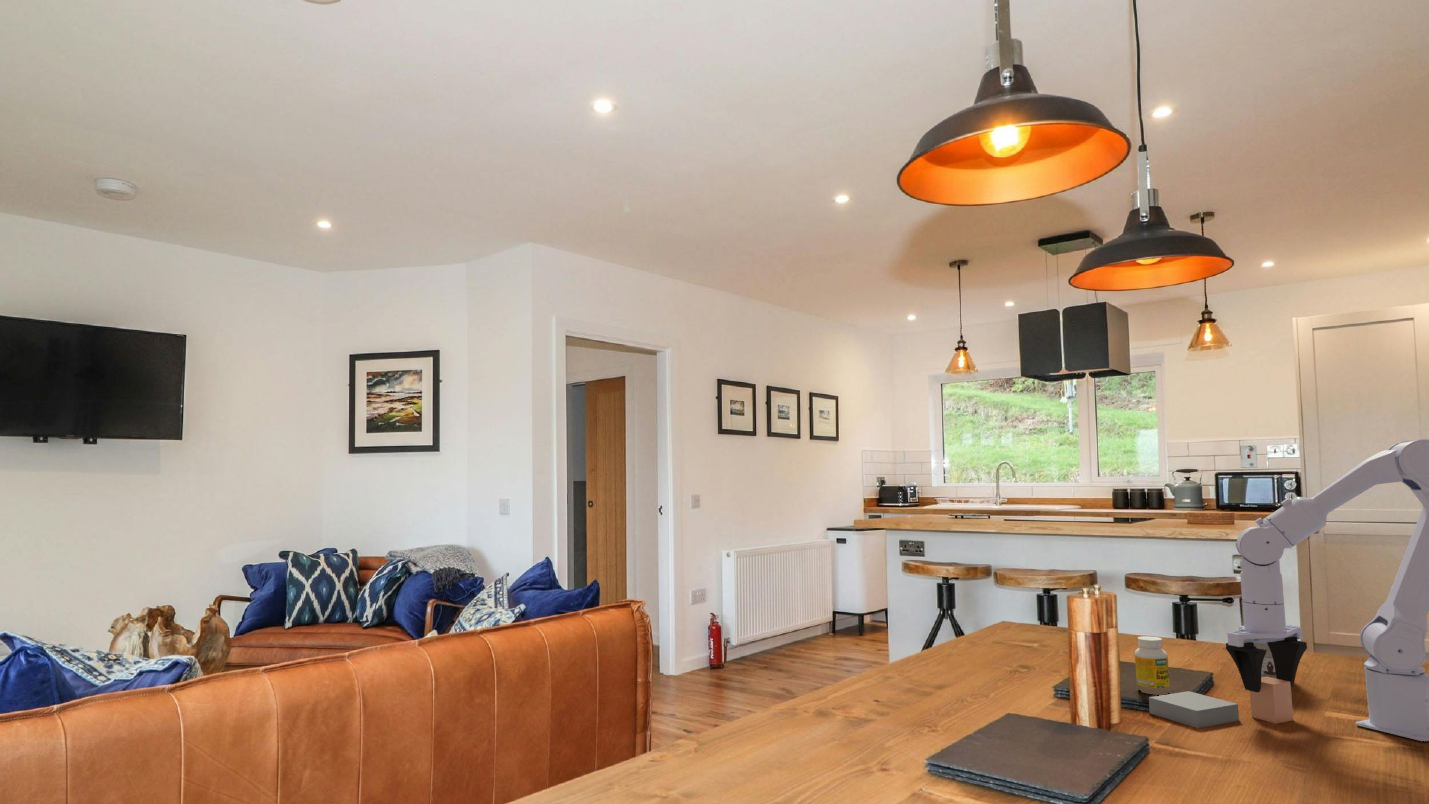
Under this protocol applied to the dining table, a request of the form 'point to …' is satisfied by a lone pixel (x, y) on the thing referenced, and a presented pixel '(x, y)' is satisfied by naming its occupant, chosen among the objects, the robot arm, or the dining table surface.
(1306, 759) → the dining table surface
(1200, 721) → the slate block
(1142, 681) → the supplement bottle
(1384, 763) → the dining table surface
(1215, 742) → the dining table surface
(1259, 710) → the terracotta block
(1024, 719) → the dining table surface
